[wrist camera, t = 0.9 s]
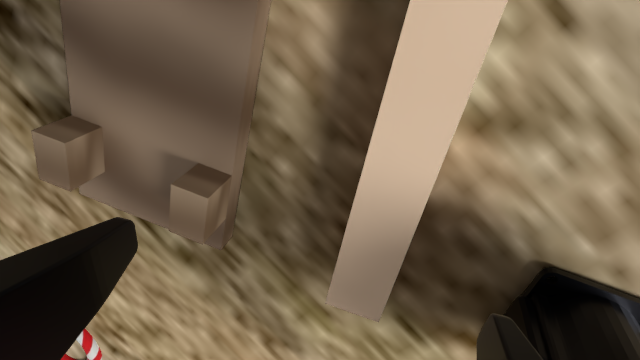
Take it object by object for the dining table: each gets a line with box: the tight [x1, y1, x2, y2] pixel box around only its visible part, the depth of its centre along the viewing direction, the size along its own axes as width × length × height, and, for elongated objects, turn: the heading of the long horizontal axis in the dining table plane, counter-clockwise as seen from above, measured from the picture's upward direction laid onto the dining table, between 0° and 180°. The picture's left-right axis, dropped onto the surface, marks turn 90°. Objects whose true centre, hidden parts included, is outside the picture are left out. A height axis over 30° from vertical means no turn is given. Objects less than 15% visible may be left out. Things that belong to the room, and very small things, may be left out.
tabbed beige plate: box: [31, 0, 271, 250], centre depth 18 cm, size 20×10×4 cm, turn 166°
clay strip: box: [325, 0, 508, 322], centre depth 18 cm, size 16×3×4 cm, turn 169°
